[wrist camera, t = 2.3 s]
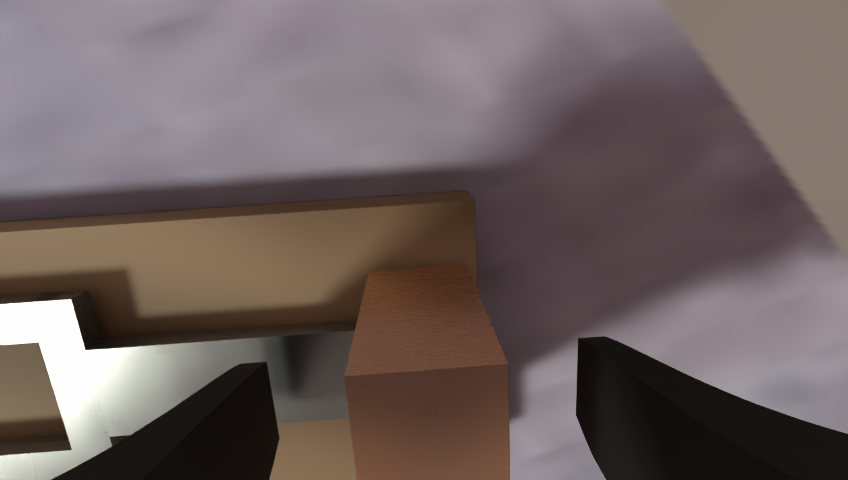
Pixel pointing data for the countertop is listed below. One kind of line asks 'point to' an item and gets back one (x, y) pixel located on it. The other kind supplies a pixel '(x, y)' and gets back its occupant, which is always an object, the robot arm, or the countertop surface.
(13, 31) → the countertop surface
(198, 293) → the wooden board
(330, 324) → the forked latch lever
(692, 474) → the robot arm
